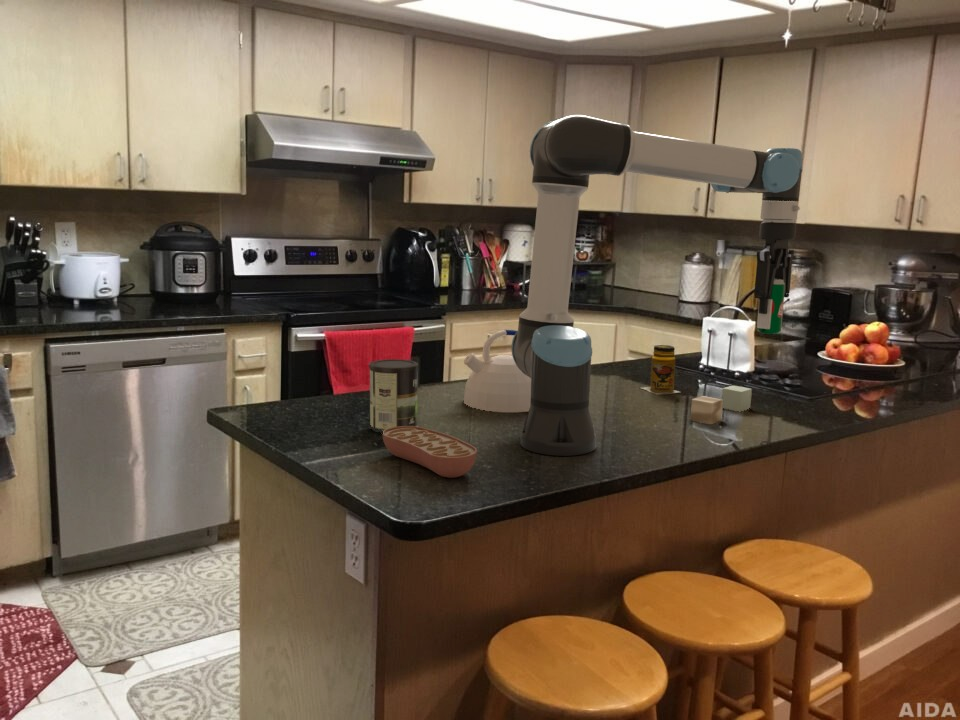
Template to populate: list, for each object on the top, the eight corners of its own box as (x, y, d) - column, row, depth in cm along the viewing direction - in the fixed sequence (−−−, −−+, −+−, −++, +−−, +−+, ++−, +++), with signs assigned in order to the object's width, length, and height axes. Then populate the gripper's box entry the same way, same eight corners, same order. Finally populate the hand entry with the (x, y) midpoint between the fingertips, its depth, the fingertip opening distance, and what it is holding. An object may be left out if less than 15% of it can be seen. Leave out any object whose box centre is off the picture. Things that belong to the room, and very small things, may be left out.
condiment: (658, 395, 215) (661, 349, 213) (639, 388, 223) (641, 343, 221) (681, 393, 218) (684, 347, 216) (661, 386, 226) (664, 342, 224)
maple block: (710, 424, 187) (712, 403, 186) (690, 420, 191) (691, 399, 190) (721, 421, 191) (722, 399, 190) (701, 416, 194) (702, 395, 193)
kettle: (451, 396, 210) (452, 324, 207) (528, 391, 217) (531, 322, 213) (476, 415, 191) (478, 337, 188) (560, 410, 198) (563, 334, 194)
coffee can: (415, 421, 185) (415, 358, 182) (419, 434, 175) (420, 367, 172) (368, 422, 183) (368, 358, 181) (370, 435, 173) (369, 368, 171)
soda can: (782, 334, 184) (787, 280, 182) (758, 333, 185) (763, 279, 183) (779, 331, 189) (783, 278, 187) (755, 330, 190) (760, 277, 188)
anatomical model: (373, 455, 160) (373, 430, 159) (416, 447, 166) (416, 422, 165) (445, 488, 143) (445, 460, 142) (490, 477, 149) (490, 450, 148)
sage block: (740, 412, 199) (741, 391, 198) (720, 408, 203) (722, 388, 202) (750, 408, 203) (751, 388, 202) (731, 405, 206) (732, 385, 205)
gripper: (776, 222, 174) (766, 333, 178) (812, 222, 187) (802, 325, 191) (742, 220, 179) (734, 328, 183) (780, 220, 192) (771, 321, 196)
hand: (769, 326), depth 187 cm, fingers closed on soda can, 5 cm apart
